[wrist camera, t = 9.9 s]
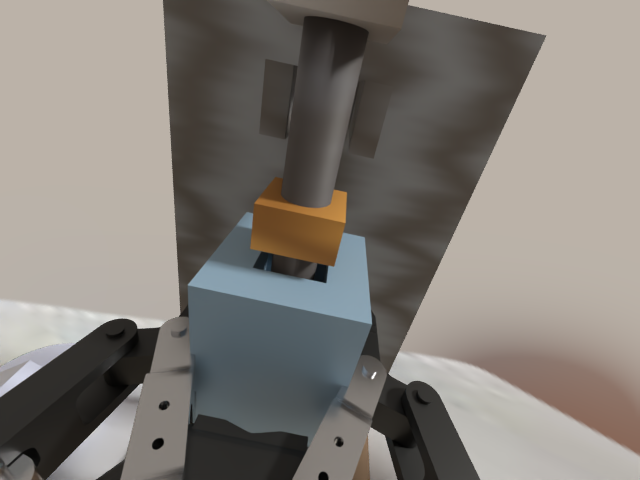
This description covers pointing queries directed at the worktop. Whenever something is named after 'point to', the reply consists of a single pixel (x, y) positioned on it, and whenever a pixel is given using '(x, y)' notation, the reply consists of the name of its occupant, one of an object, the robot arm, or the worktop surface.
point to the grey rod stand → (335, 135)
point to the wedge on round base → (28, 365)
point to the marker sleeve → (275, 335)
